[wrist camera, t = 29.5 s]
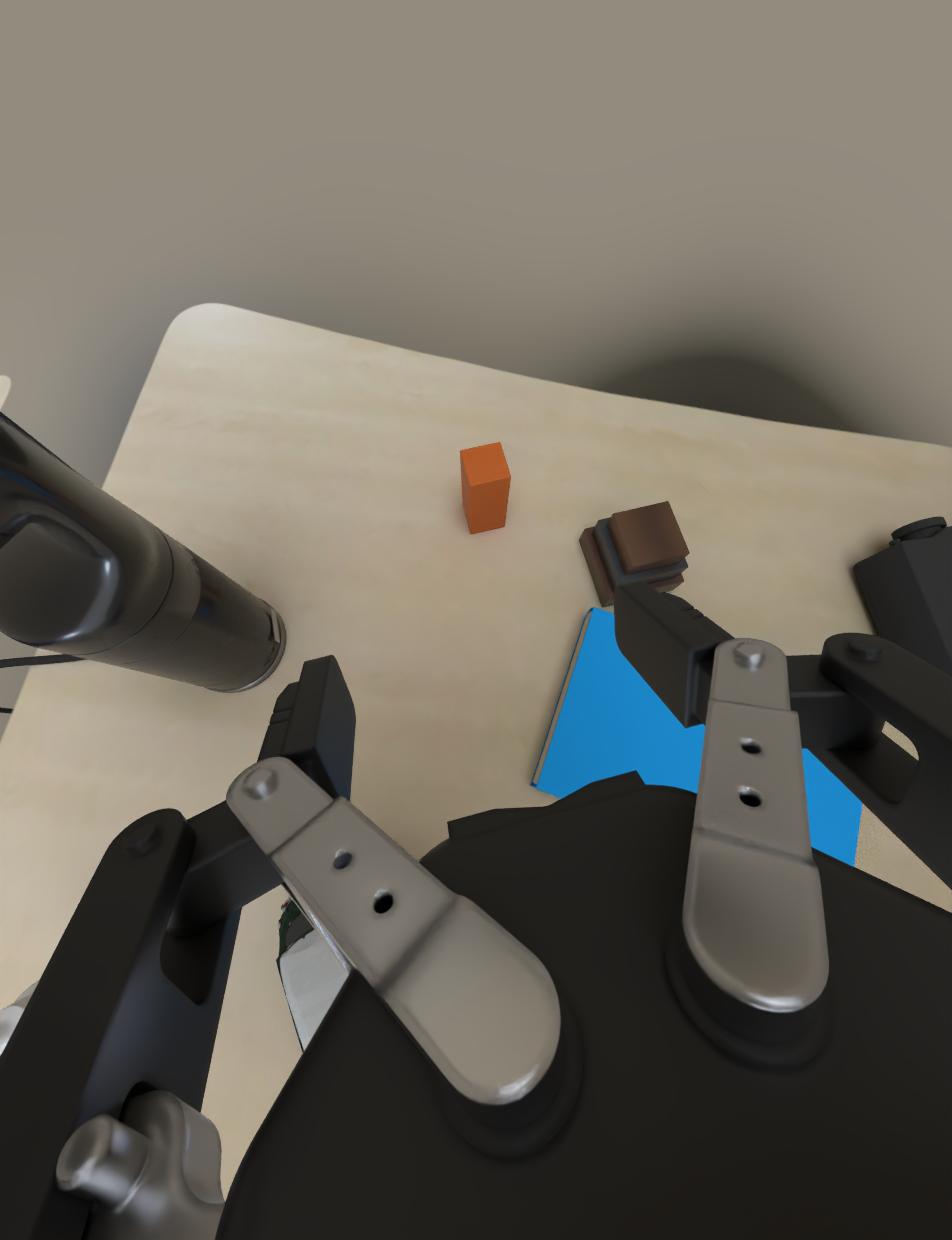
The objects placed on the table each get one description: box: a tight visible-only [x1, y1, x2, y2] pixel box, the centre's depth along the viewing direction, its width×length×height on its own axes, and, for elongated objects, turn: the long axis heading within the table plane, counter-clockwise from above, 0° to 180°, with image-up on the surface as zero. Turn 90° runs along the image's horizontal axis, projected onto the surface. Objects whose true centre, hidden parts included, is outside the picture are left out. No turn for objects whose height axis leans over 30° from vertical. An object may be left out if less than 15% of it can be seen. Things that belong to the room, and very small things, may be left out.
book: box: [531, 607, 862, 867], centre depth 40 cm, size 17×4×25 cm
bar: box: [460, 442, 511, 534], centre depth 44 cm, size 4×4×9 cm
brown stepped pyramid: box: [579, 501, 689, 607], centre depth 43 cm, size 8×8×7 cm
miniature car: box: [276, 897, 348, 1052], centre depth 33 cm, size 9×18×8 cm, turn 26°
